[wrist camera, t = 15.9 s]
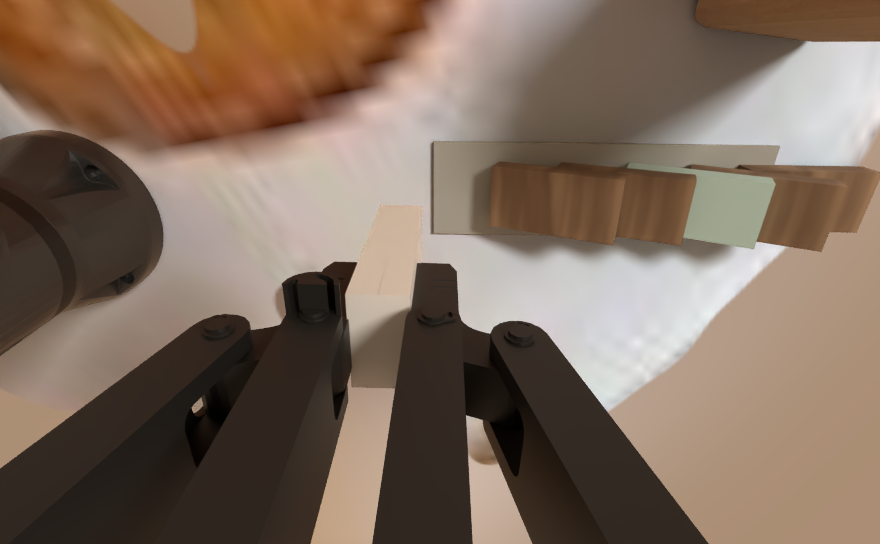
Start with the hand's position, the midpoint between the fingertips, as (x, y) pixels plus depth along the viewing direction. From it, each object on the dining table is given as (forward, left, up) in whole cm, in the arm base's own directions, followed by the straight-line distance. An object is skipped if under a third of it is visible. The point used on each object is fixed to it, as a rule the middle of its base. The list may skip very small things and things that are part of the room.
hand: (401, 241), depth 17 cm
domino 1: (+5, -5, -22) cm, 23 cm away
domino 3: (+21, -5, -22) cm, 31 cm away
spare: (+16, -5, -22) cm, 28 cm away
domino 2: (+11, -5, -22) cm, 25 cm away
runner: (+14, -5, -24) cm, 28 cm away
